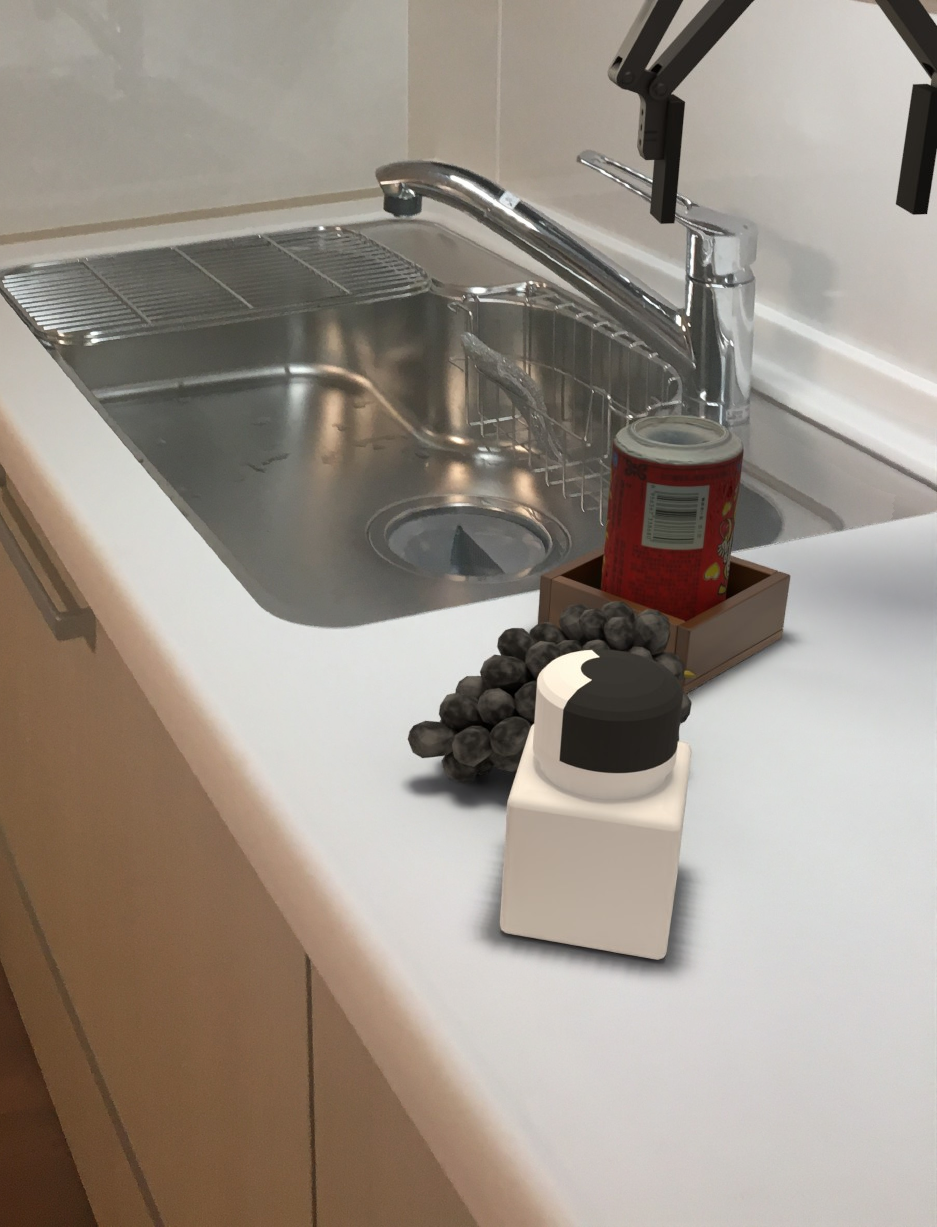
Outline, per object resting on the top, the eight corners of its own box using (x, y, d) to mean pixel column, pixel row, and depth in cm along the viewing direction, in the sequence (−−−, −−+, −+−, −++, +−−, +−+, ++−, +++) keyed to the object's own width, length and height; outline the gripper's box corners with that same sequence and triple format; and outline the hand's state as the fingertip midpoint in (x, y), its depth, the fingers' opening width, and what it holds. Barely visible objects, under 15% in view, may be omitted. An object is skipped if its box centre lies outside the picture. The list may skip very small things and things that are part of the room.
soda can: (738, 650, 96) (762, 448, 90) (613, 654, 96) (630, 453, 91) (703, 597, 102) (724, 405, 97) (586, 601, 102) (600, 410, 97)
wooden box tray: (782, 637, 99) (791, 574, 97) (682, 696, 93) (690, 630, 91) (637, 586, 106) (643, 526, 104) (536, 637, 100) (540, 575, 98)
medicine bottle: (677, 872, 78) (704, 643, 73) (664, 964, 72) (692, 722, 67) (523, 848, 80) (538, 624, 75) (498, 935, 74) (512, 698, 69)
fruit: (425, 647, 80) (713, 597, 82) (369, 627, 88) (633, 582, 90) (445, 823, 81) (729, 768, 84) (388, 787, 89) (648, 737, 92)
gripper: (598, -198, 82) (571, 237, 91) (1127, -225, 80) (1045, 220, 89) (570, -198, 88) (548, 207, 97) (1057, -223, 87) (988, 191, 96)
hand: (785, 214), depth 93 cm, fingers open, 13 cm apart
